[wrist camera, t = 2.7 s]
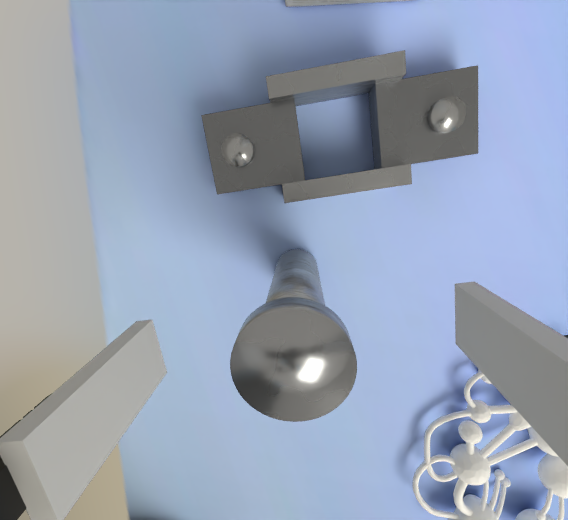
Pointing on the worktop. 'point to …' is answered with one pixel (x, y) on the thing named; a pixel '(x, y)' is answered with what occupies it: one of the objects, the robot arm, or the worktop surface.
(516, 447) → the tangled rod sculpture
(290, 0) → the supplement box
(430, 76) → the bolted rod clamp
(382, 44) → the worktop surface
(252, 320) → the pin
